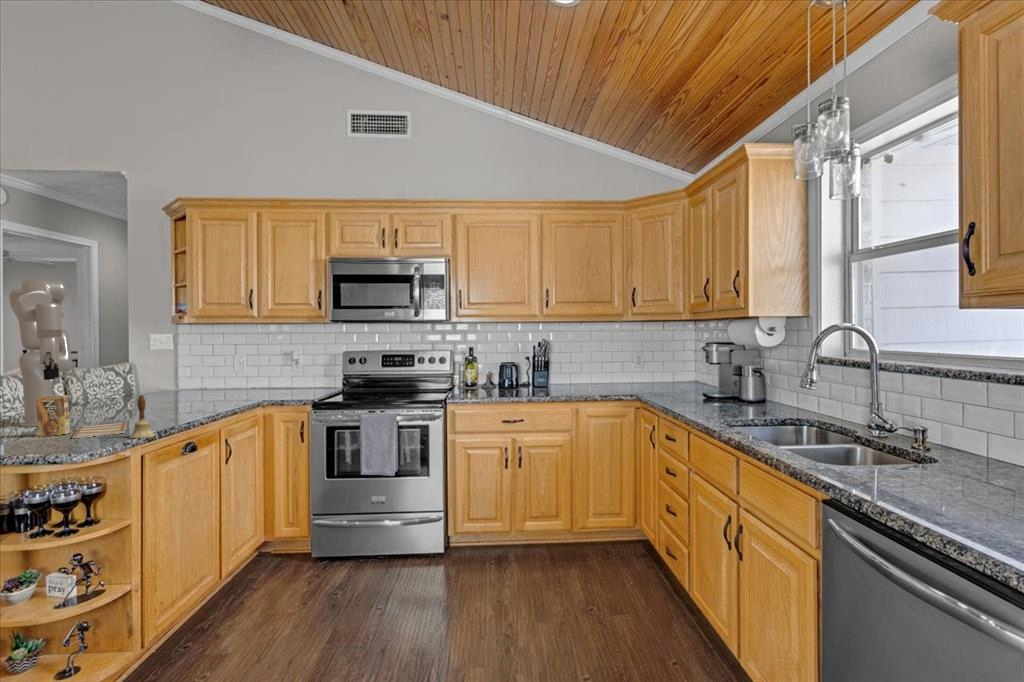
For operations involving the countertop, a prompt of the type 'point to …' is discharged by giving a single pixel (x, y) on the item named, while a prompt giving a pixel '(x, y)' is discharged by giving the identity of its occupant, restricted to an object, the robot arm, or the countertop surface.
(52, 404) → the candy box
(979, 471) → the countertop surface
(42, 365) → the robot arm
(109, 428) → the board
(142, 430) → the hand bell
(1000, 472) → the countertop surface
